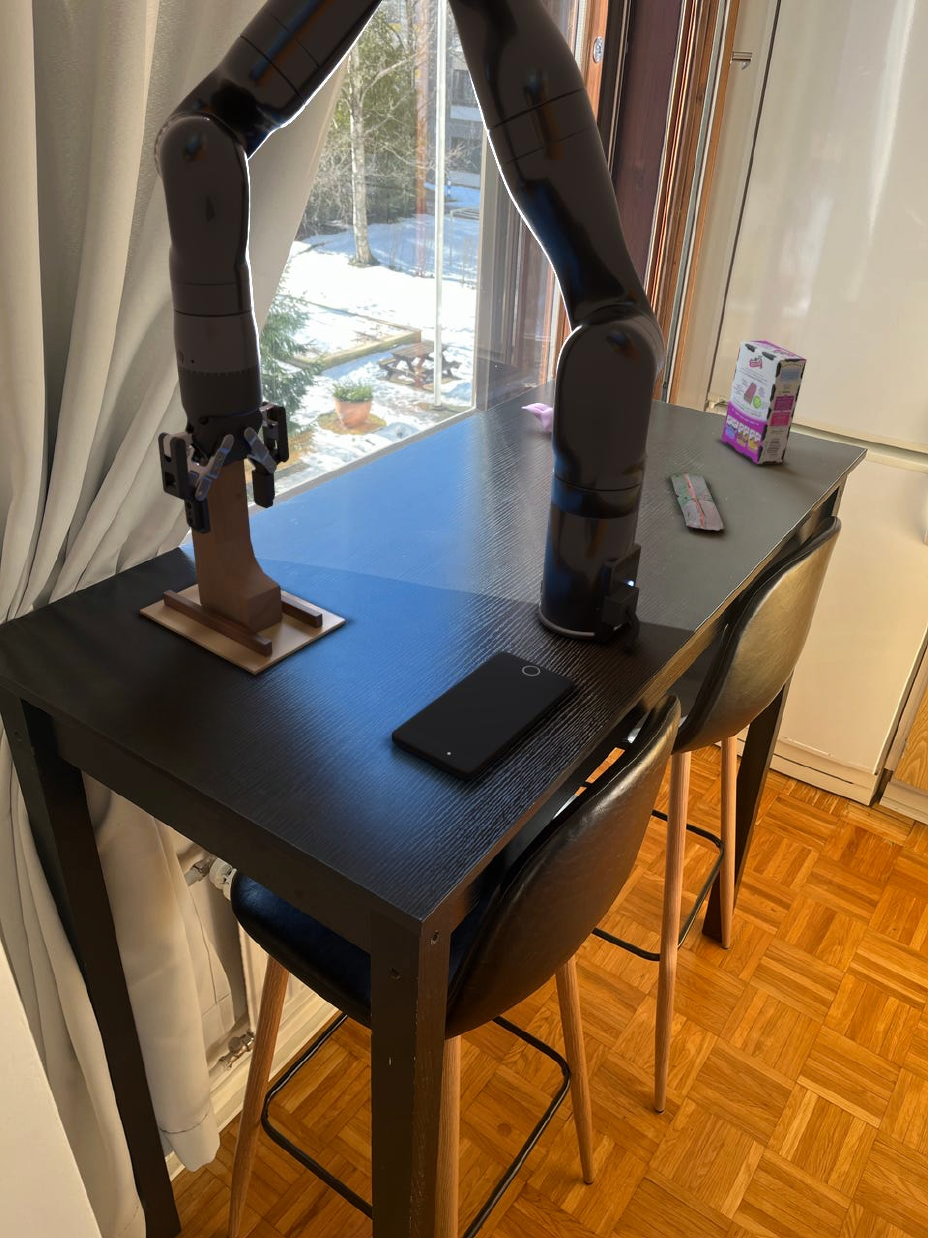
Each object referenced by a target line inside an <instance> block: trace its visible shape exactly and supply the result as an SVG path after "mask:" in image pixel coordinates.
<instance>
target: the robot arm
mask: <svg viewBox="0 0 928 1238" xmlns="http://www.w3.org/2000/svg"><path fill="white" fill-rule="evenodd" d="M383 2H384V0H266V2H265V3H264V4H263V5H262V6H261V7H260V9H259V10H258V11H257V12H256V13H255V15H254V16H253V17H252V19H251V20H250V21H249V22H248V23H247V24H246V26H245V27H244V28H243V30H242V31H241V32H240V33H239V36H237V37H236V38H235V40H234V41H233V43H232V44H231V45H230V47H229V49H228V50H227V52H226V53H225V55H224V56H223V57H222V59H221V60H220V61H219V63H218V64H217V65H216V66H215V67H214V68H213V70H211V71H210V72H209V73H208V74H207V75H206V76H205V77H204V78H203V79H202V80H201V81H200V82H199V83H198V84H197V85H196V86H195V87H194V88H193V89H192V90H191V91H190V92H189V93H188V94H187V95H186V96H185V97H184V98H183V99H182V100H181V101H180V102H179V104H177V106H176V107H175V108H174V109H173V110H172V111H171V113H170V114H169V115H168V116H167V118H165V120H164V122H163V123H162V124H161V126H160V127H159V129H158V131H157V133H156V135H155V138H154V141H153V142H154V143H153V147H152V157H153V162H154V167H155V170H156V172H157V174H158V177H159V178H160V179H161V181H162V182H161V183H162V187H163V192H164V199H165V207H166V214H167V222H168V228H169V229H168V230H169V236H170V247H169V250H168V273H169V281H170V282H169V283H170V289H171V298H172V299H171V300H172V307H173V343H174V349H175V351H174V352H175V359H176V368H177V377H178V383H179V384H178V385H179V392H180V402H181V406H182V409H183V410H184V412H185V413H184V414H185V415H186V425H185V428H184V431H181V432H178V433H174V434H171V433H169V432H165V431H162V432H161V433H160V434H159V435H158V437H157V444H158V454H159V461H160V471H161V472H160V473H161V480H162V490H163V492H164V493H166V494H168V495H170V496H173V497H174V498H177V499H179V500H181V501H183V503H184V511H185V512H184V513H185V520H186V524H187V525H188V527H189V528H190V529H191V528H192V529H193V530H194V531H197V532H199V533H201V534H206V533H208V532H210V531H211V526H210V517H209V508H208V499H207V498H205V496H206V494H207V491H208V489H209V486H210V484H211V481H212V480H214V479H216V478H217V476H218V474H219V472H220V469H221V467H225V466H228V465H230V464H231V463H232V462H234V461H241V460H244V461H245V460H246V459H247V461H248V462H249V463H250V465H252V467H253V468H254V469H252V470H251V483H252V495H253V502H254V503H255V505H256V506H259V507H261V508H264V509H269V508H272V507H273V506H274V500H275V497H276V490H275V489H276V485H275V472H276V471H277V469H278V466H279V465H280V464H281V463H283V464H284V463H287V462H289V459H290V445H289V434H288V433H289V432H288V422H287V421H288V420H287V410H286V408H285V406H283V405H280V404H278V403H274V402H270V401H267V400H264V396H263V394H264V393H263V383H262V382H263V381H262V380H263V379H262V367H261V366H262V365H261V353H260V352H261V351H260V340H259V339H260V338H259V331H258V325H257V321H256V316H255V315H256V314H255V308H254V297H253V295H254V294H253V284H252V271H251V264H250V258H249V257H250V255H249V236H250V235H249V234H250V214H251V185H250V172H249V163H248V161H249V160H250V159H251V158H252V156H253V155H254V154H255V153H256V152H257V151H258V149H259V148H260V147H261V146H262V145H263V144H264V142H266V140H267V139H268V138H269V136H270V135H271V134H272V133H274V132H275V131H277V130H280V129H281V128H284V127H286V126H287V125H288V124H290V123H291V122H293V120H295V119H296V117H297V116H298V115H300V114H301V112H303V110H304V109H305V106H308V104H309V103H310V101H311V100H312V99H313V98H314V96H315V95H316V94H317V93H318V92H319V91H320V89H321V88H322V87H323V86H324V85H325V83H327V81H328V79H329V78H330V77H331V76H332V75H333V74H334V72H335V71H336V70H337V69H338V67H339V66H340V64H341V63H342V62H343V61H344V59H345V58H346V56H347V55H348V54H349V52H350V51H351V49H352V48H353V47H354V45H355V44H356V43H357V41H358V39H359V38H360V36H361V35H362V33H363V32H364V30H365V29H366V27H367V26H368V24H369V23H370V21H371V20H372V18H373V17H374V15H375V14H376V12H377V11H378V9H379V7H381V4H383ZM447 2H448V4H449V7H450V10H451V14H452V16H453V19H454V23H455V27H456V31H457V34H458V38H459V42H460V45H461V49H462V53H463V57H464V61H465V64H466V65H465V66H466V68H467V71H468V74H469V79H470V82H471V84H472V89H473V91H474V94H475V95H474V96H475V99H476V102H477V104H478V108H479V111H480V115H481V118H482V122H483V125H484V128H485V131H486V132H487V137H488V141H489V143H490V147H491V149H492V152H493V155H494V157H495V161H496V165H497V166H498V167H497V168H498V170H499V172H500V175H501V177H502V180H503V182H504V185H505V187H506V189H507V191H508V192H507V193H508V194H509V196H510V198H511V200H512V202H513V203H514V205H515V207H516V208H517V211H518V213H519V214H520V216H521V217H522V219H523V221H524V222H525V224H526V225H527V227H528V228H529V230H530V231H531V233H532V235H533V236H534V238H535V239H536V240H537V242H538V244H539V245H540V246H541V249H542V250H543V252H544V254H545V255H546V257H547V259H548V261H549V263H550V265H551V268H552V269H553V272H554V275H555V278H556V279H557V283H558V286H559V289H560V293H561V296H562V299H563V303H564V308H565V311H566V315H567V320H568V324H569V329H570V334H569V335H568V337H567V338H566V340H565V341H564V343H563V345H562V347H561V349H560V353H559V356H558V359H557V365H556V373H555V382H554V394H553V407H552V408H553V422H552V433H551V448H552V451H553V467H552V476H551V485H550V487H551V488H550V495H549V496H550V497H549V507H548V508H549V509H548V517H547V527H546V528H547V529H546V538H545V549H544V559H543V571H542V580H541V582H540V592H539V593H540V597H539V598H540V599H539V600H540V602H539V606H538V619H539V621H540V622H541V624H542V625H543V626H544V627H545V628H546V629H548V630H549V631H551V632H553V633H554V634H557V635H560V636H562V637H566V638H569V639H574V640H581V641H595V642H598V643H601V644H604V643H606V642H607V641H608V640H609V639H610V638H612V637H613V636H614V635H616V634H617V633H619V632H620V631H621V630H622V629H623V628H624V627H625V626H627V624H629V623H631V632H630V634H629V636H628V637H627V639H626V640H625V642H624V645H625V646H626V647H628V648H632V647H633V645H634V643H635V642H636V640H637V639H638V637H639V634H640V631H641V624H640V620H639V617H638V615H637V608H638V601H639V596H640V595H639V594H640V590H641V589H640V587H637V586H636V585H637V578H638V573H639V572H638V571H639V566H640V561H641V553H642V545H641V544H639V543H637V542H636V541H635V540H636V534H637V527H638V520H639V514H640V507H641V501H642V494H643V487H644V480H645V475H646V470H647V462H648V453H647V440H648V433H649V427H650V426H649V425H650V421H651V420H650V419H651V413H652V412H651V411H652V407H653V406H652V405H653V399H654V398H653V397H654V391H655V386H656V382H657V381H658V379H659V377H660V375H661V373H662V371H663V368H664V364H665V360H666V343H665V337H664V334H663V331H662V328H661V326H660V323H659V321H658V318H657V316H656V314H655V311H654V309H653V307H652V305H651V302H650V300H649V297H648V295H647V293H646V290H645V288H644V285H643V283H642V280H641V278H640V275H639V273H638V270H637V268H636V266H635V263H634V261H633V258H632V255H631V252H630V250H629V246H628V243H627V241H626V237H625V233H624V230H623V226H622V225H623V224H622V221H621V216H620V211H619V206H618V202H617V197H616V193H615V189H614V185H613V181H612V177H611V173H610V169H609V165H608V161H607V158H606V154H605V151H604V146H603V142H602V137H601V134H600V130H599V127H598V124H597V120H596V116H595V113H594V110H593V106H592V103H591V99H590V96H589V93H588V90H587V86H586V83H585V80H584V77H583V75H582V72H581V70H580V68H579V65H578V62H577V59H576V58H575V56H574V54H573V51H572V50H571V47H570V46H569V44H568V42H567V40H566V38H565V37H564V35H563V33H562V32H561V30H560V28H559V26H558V25H557V23H556V21H555V20H554V18H553V16H552V15H551V13H550V12H549V10H548V8H547V7H546V5H545V3H544V2H543V0H447ZM260 430H262V440H261V439H260V437H259V436H258V435H259V433H260ZM262 441H263V442H262ZM190 446H191V447H190ZM189 448H191V450H190V451H188V449H189ZM187 456H188V458H187ZM202 458H203V459H204V460H205V461H206V462H208V465H207V466H205V467H203V466H201V465H200V461H201V459H202ZM198 475H200V476H199V479H198V481H197V484H196V486H195V482H196V480H197V477H198Z"/></svg>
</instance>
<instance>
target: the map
mask: <svg viewBox="0 0 928 1238" xmlns="http://www.w3.org/2000/svg"><path fill="white" fill-rule="evenodd" d="M670 477H671V482H672V487H673V490H674V493H675V495H676V496H677V498H676V499H677V502H678V504H679V506H680V509H681V512H682V515H683V516H684V521H685V524H686V526H687V527H691V528H695V529H703V530H708V531H711V530H714V531H720V530H721V529H722V530H724V524H723V520H722V517H721V516H720V513H719V511H718V509H717V506H716V505H715V501H714V499H713V497H712V494H711V492H710V490H709V488H708V486H707V484H706V481H705V477H704V476H702V475H697V474H692V473H689V472H682V473H681V472H680V473H674V474H671V476H670Z"/></svg>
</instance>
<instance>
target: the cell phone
mask: <svg viewBox="0 0 928 1238" xmlns="http://www.w3.org/2000/svg"><path fill="white" fill-rule="evenodd" d="M575 685H576V682H575V680H573V679H572V678H569V677H567V676H565V675H563V674H560V673H558V672H555V671H553V670H550V669H549V668H547V667H544V666H542V665H539V664H537V663H534V662H532V661H530V660H527V659H524V658H523V657H520V656H519V655H515V654H513V653H511V652H508V651H505V650H501V651H499V652H497V653H496V654H494V655H493V656H492V657H491V658H489V659H487V660H486V661H485V662H484V663H483V664H481V665H480V666H479V667H476V669H474V670H473V671H472V672H470V673H469V674H468V675H466V676H465V677H464V678H462V679H461V680H460V681H458V682H457V683H455V684H454V685H453V686H452V687H450V688H449V689H447V690H446V691H445V692H444V693H442V694H441V695H439V696H438V697H436V699H435V700H433V701H432V702H430V703H429V704H428V705H426V706H425V707H424V708H422V709H421V710H419V711H418V712H417V713H416V714H414V715H413V716H412V717H410V718H408V720H405V722H403V723H402V724H401V725H400V726H398V727H397V728H396V729H394V730H393V731H392V732H391V742H392V743H393V744H394V745H395V746H397V747H399V748H401V749H403V750H405V751H406V752H409V753H411V754H413V755H415V756H416V757H418V758H420V759H422V760H424V761H426V762H428V763H430V764H432V765H434V766H435V767H438V768H440V769H441V770H444V771H446V772H447V773H449V774H452V775H453V776H455V777H457V778H458V779H461V780H464V781H470V780H473V779H474V778H475V777H476V776H477V775H478V774H479V773H480V772H481V771H482V770H483V769H485V768H486V767H487V766H488V765H489V764H490V763H491V762H492V761H494V760H495V759H496V758H497V757H498V756H500V754H502V753H503V752H504V751H505V750H507V748H508V747H510V746H511V745H512V744H513V743H514V742H515V741H517V739H518V738H520V737H521V736H522V735H523V734H524V733H526V732H527V731H528V730H529V729H530V728H531V727H533V725H534V724H536V723H537V722H538V721H539V720H540V719H542V718H543V717H544V715H546V714H548V712H549V711H550V710H551V709H553V708H554V707H556V705H557V704H558V703H559V702H560V701H562V700H563V699H564V698H565V697H566V696H568V695H569V693H571V692H572V691H574V690H575Z"/></svg>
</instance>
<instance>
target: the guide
mask: <svg viewBox="0 0 928 1238" xmlns="http://www.w3.org/2000/svg"><path fill="white" fill-rule="evenodd" d="M281 600H282V615H283V619H282V621H281V622H278V623H276V624H274V625H272V626H270V627H268V628H266V629H263V630H261V631H259V632H257V633H254V632H252V631H250V630H248V629H247V628H245V627H243V626H241V625H239V624H237V623H235V622H233V621H231V620H229V619H227V618H225V617H223V616H221V615H219V614H217V613H215V612H213V611H211V610H209V609H207V608H205V607H203V606H202V605H201V604H200V598H199V589H198V583H196V584H193V585H191V586H190V587H187V588H186V589H183V590H181V591H179V592H175V591H173V590H172V589H168V590H165V591H164V592H162V600H161V599H160V600H159V601H157V602H154V603H152V604H150V605H147V606H146V607H144V608H142V609H139V614H140V615H143V616H144V617H147V618H148V619H150V620H152V621H154V622H155V623H158V624H159V625H161V626H163V627H165V628H167V629H168V630H170V631H173V632H174V633H176V634H178V635H180V636H182V637H184V638H186V639H187V640H189V641H191V642H193V643H194V644H197V645H199V646H201V647H202V648H204V649H206V650H208V651H210V652H212V653H214V654H215V655H217V656H219V657H221V658H223V659H224V660H227V661H229V662H230V663H232V664H234V665H235V666H238V667H239V668H241V669H243V670H245V671H247V672H249V673H251V674H253V675H257V674H258V673H260V672H262V671H264V670H265V669H268V668H269V667H271V666H272V665H274V664H276V663H278V662H279V661H281V660H282V659H285V658H286V657H288V656H290V655H292V654H293V653H295V652H297V651H299V650H301V649H302V648H304V647H306V646H307V645H310V644H311V643H313V642H314V641H316V640H319V639H320V638H321V637H323V636H325V635H326V634H329V633H330V632H332V631H333V630H335V629H337V628H339V627H341V626H342V625H344V624H346V619H345V618H343V617H341V616H339V615H336V614H334V613H332V612H330V611H328V610H326V609H324V608H322V607H319V606H317V605H315V604H312V603H310V602H308V601H306V600H304V599H302V598H300V597H298V596H295V595H293V594H291V593H289V592H287V591H284V590H282V589H281Z"/></svg>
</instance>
